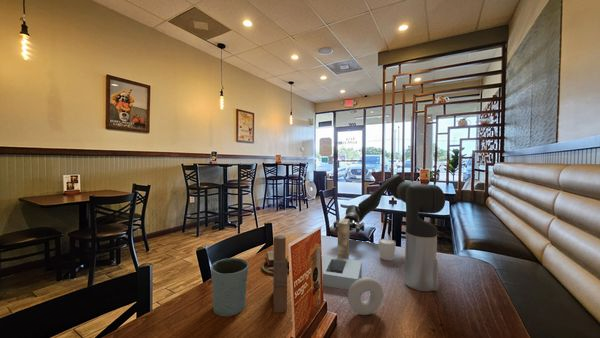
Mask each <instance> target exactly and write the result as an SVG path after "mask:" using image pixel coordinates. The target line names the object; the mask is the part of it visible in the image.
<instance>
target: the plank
mask: <svg viewBox="0 0 600 338" xmlns="http://www.w3.org/2000/svg"><path fill="white" fill-rule="evenodd" d="M338 221H339V222H338V231H337V257H336V258H343V259H349V257H350V230H349V221H350V219H344V217H343V218H340V220H338Z"/></svg>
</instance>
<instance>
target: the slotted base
mask: <svg viewBox="0 0 600 338" xmlns="http://www.w3.org/2000/svg"><path fill="white" fill-rule="evenodd" d="M321 256H322V266H323V285H324V286H323V287H328V288H334V289H339V290H345V291H349V289H350V287H351V286H352V284H353V283H354V282H355V281H357V280H358V279H360V278H362V277H361V276H362V268H363V267H362V266H363V265H362V264H363V261H362V260H357V259H350V258H348V259H343V258H337V257H335V256H328V255H321ZM332 271H338V272H342V273H338V272H332Z"/></svg>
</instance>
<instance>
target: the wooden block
mask: <svg viewBox="0 0 600 338" xmlns="http://www.w3.org/2000/svg"><path fill="white" fill-rule="evenodd" d="M286 238H287V237H286V236H285V235H280V234H278V235H275V236H274V237H273V250H274V272H273V274H272V275H273V283H272V285H273V286H272V290H273V291H272V294H273V299H272V300H273V313H287V311H288V273H287V261H286V259H287V256H286V255H287V254H286V251H287V250H286V244H287V239H286Z"/></svg>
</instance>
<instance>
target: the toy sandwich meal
mask: <svg viewBox="0 0 600 338" xmlns="http://www.w3.org/2000/svg"><path fill="white" fill-rule="evenodd" d="M286 255H287V256H286V261H287V274H288V273H290V272H289V261H288V254H286ZM264 260H265V261H264V262H263V263H262V264H261V270H263V272H266V273H267V274H269V275H273V272H274V249H273V250H272V249H271V250H268V251H266V256H264Z"/></svg>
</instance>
